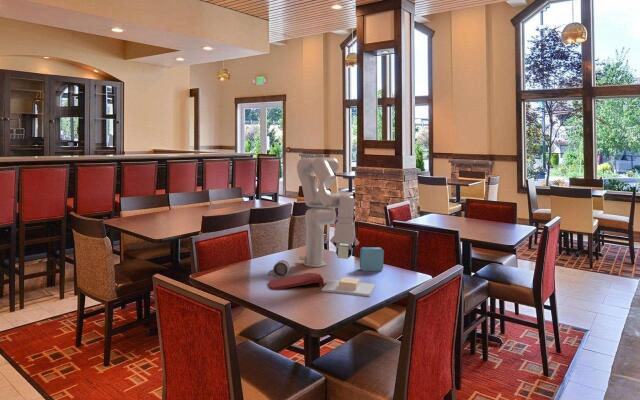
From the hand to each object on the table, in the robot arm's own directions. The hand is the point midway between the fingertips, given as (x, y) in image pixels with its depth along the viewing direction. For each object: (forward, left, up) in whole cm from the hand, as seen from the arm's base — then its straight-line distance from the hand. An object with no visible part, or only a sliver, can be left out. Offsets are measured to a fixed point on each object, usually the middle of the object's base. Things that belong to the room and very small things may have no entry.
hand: (343, 255), depth 230 cm
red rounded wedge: (-19, -18, -12) cm, 29 cm away
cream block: (0, 0, -1) cm, 1 cm away
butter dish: (+7, -16, -12) cm, 20 cm away
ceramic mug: (-32, -6, -12) cm, 35 cm away
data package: (+11, +21, -12) cm, 27 cm away
